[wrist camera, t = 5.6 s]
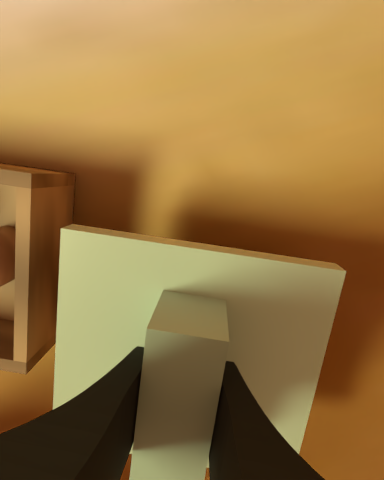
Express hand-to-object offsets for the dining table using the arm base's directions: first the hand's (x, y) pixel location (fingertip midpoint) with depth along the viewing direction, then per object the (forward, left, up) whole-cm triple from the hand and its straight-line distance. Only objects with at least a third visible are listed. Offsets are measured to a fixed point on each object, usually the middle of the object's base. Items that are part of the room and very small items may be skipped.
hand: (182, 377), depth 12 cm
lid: (0, 0, -2) cm, 2 cm away
